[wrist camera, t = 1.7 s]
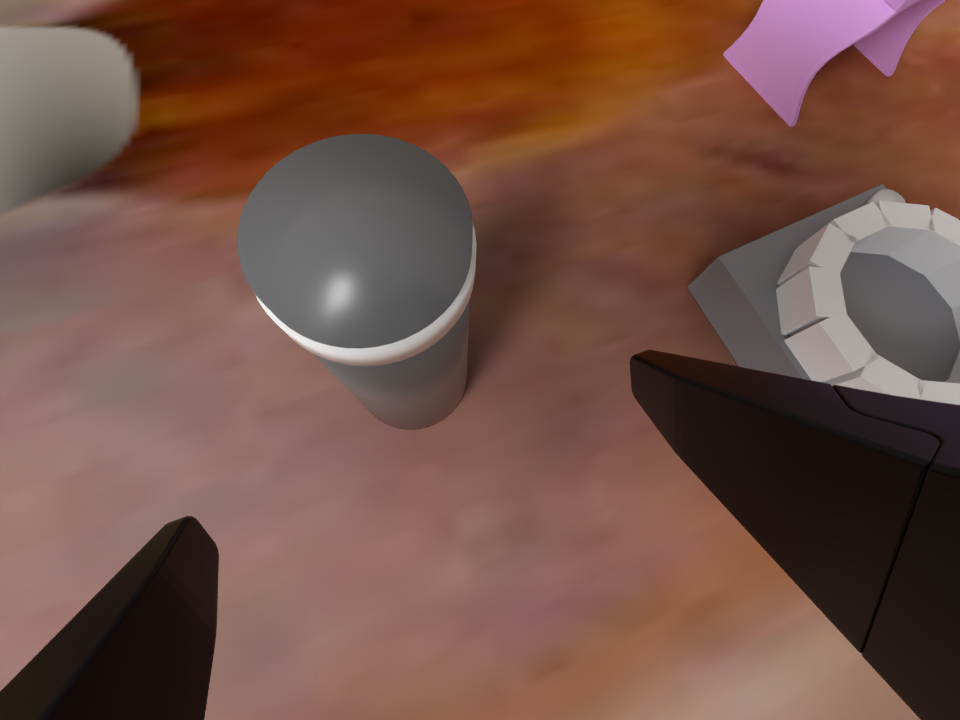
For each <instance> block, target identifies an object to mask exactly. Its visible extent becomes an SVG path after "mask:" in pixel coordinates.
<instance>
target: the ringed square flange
mask: <svg viewBox="0 0 960 720" xmlns="http://www.w3.org/2000/svg"><path fill="white" fill-rule="evenodd" d="M687 288H688V289H689V291H690V293H691V294H692V296H693V297H694V299H695V300H696V302H697V303H698V305H699V306H700V308H701V309H702V311H703V312H704V314H705V315H706V317H707V318H708V320H709V322H710V323H711V325H712V326H713V328H714V329H715V331H716V332H717V334H718V335H719V337H720V338H721V340H722V341H723V343H724V344H725V346H726V348H727V349H728V351H729V352H730V354H731V355H732V357H733V358H734V360H735V361H736V363H737V364H738V366H739V367H744V368H749V369H754V370H760V371H765V372H770V373H775V374H781V375H786V376H791V377H797V378H802V379H807V380H813V381H818V382H823V383H828V384H831V386H833V385H839V386H845V387H850V388H855V389H860V390H866V391H872V392H878V393H883V394H889V395H895V396H901V397H908V398H915V399H922V400H928V401H935V402H942V403H949V404H956V405H960V220H958V219H956V218H955V217H953V216H951V215H949V214H947V213H945V212H943V211H941V210H939V209H938V208H934V209H932V210H931V211H930V208H929V205H919V204H908V203H906V202H905V200H904V198H903V197H902V196H901V195H900V194H899V193H897V192H895V191H893V190H889V189H887V188H886V187H885V186H884V184H881V185H879V186H877V187H875V188H872V189H870V190H868V191H866V192H863V193H861V194H859V195H856V196H854V197H852V198H850V199H847V200H845V201H843V202H841V203H838V204H836V205H834V206H832V207H829V208H827V209H825V210H823V211H820V212H818V213H816V214H814V215H811V216H809V217H807V218H805V219H802V220H800V221H798V222H796V223H793V224H791V225H789V226H787V227H784V228H782V229H780V230H777V231H775V232H773V233H771V234H768V235H766V236H764V237H762V238H759V239H757V240H755V241H753V242H750V243H748V244H746V245H744V246H741V247H739V248H737V249H735V250H732V251H730V252H728V253H726V254H723V255H721V256H719V257H718V258H717V259H716V260H714V261H713V262H712V263H711V264H710V265H709V266H708V267H707V268H706V269H705V270H704V271H703V272H702V273H701V274H700V275H699V276H698V277H697V278H696V279H695V280H694V281H693V282H692V283H691V284H690V285H689V286H687Z"/></svg>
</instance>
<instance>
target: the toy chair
mask: <svg viewBox="0 0 960 720" xmlns="http://www.w3.org/2000/svg"><path fill="white" fill-rule="evenodd" d="M944 1H945V0H763V2H762V4H761V6H760V8H759V10H758V12H757V14H756V16H755V17H754V19H753V20H752V22H751V23H750V25H749V26H748V28H747V29H746V30H745V31H744V33H743V34H742V35H741V36H740V37H739V38H738V39H737V40H736V41H735V42H734V43H733V44H732V45H731V46H730V47H729V48H728V49H727V50H726V51H725V52H724V53H723V56H724V57H725V58H726V59H727V60H728V62H729V63H730V64H731V65H732V66H733V67H734V68H735V69H736V70H737V71H738V72H739V73H740V74H741V75H742V76H743V78H744V79H745V80H746V81H747V82H748V83H749V84H750V85H751V86H752V87H753V88H754V89H755V90H756V91H757V92H758V94H759V95H760V96H761V97H762V98H763V99H764V100H765V101H766V102H767V103H768V104H769V105H770V106H771V107H772V108H773V110H774V111H775V112H776V113H777V114H778V115H779V116H780V117H781V118H782V119H783V120H784V121H785V122H786V123H787V124H788V125H789V126H790V127H793V126H795V125H796V123H797V120H798V116H799V112H800V108H801V105H802V102H803V98H804V96H805V93H806V91H807V89H808V86H809V84H810V83H811V81H812V79H813V78H814V76H815V75H816V73H817V72H818V71H819V70H820V69H821V68H822V67H823V66H824V65H825V64H826V63H827V62H828V61H829V60H830V59H832V58H833V57H834V56H836V55H837V54H838V53H840V52H841V51H843V50H845V49H846V48H848V47H849V46H851V45H854V46H855V47H856V48H857V49H858V50H859V51H860V52H861V53H862V54H863V55H864V56H865V57H866V58H867V59H868V60H869V61H870V62H871V63H872V64H873V65H874V66H876V67H877V68H878V69H879V70H880V71H881V72H882V73H883V74H884V75H885V76H887V77H890V76H892V75H893V73H894V71H895V69H896V67H897V64H898V62H899V59H900V57H901V55H902V52H903V50H904V48H905V46H906V44H907V42H908V40H909V39H910V37H911V35H912V33H913V32H914V30H915V29H916V28H917V26H918V25H919V24H920V22H921V21H922V20H923V19H924V18H925V17H926V16H927V15H928V14H929V13H930V12H931V11H932V10H933V9H934V8H936V7H937V6H938V5H940V4H941V3H942V2H944Z"/></svg>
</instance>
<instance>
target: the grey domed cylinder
mask: <svg viewBox="0 0 960 720" xmlns="http://www.w3.org/2000/svg"><path fill="white" fill-rule="evenodd" d="M237 246H238V255H239V260H240V264H241V267H242V271H243V273H244V275H245V278H246V280H247V282H248V284H249V285H250V287H251V288H252V290H253V292H254V293H255V295H256V297H257V299H258V301H259V302H260V304H261V306H262V307H263V309H264V310H265V312H266V313H267V314H268V315H269V316H270V317H271V318H272V319H273V321H274V322H275V323H276V324H277V325H278V326H279V327H280V328H281V329H282V330H284V331H285V332H286V333H287V334H288V335H289V336H290V337H291V338H292V339H293V340H294V341H295V342H297V343H298V344H299V345H300V346H301V347H303V348H305V349H306V350H308V351H309V352H311V353H313V354H314V355H315V356H316V357H317V358H318V359H319V360H320V361H321V362H322V363H323V364H324V365H325V366H326V367H327V368H328V369H329V370H330V372H331V373H332V374H333V375H334V376H335V377H336V378H337V379H338V380H339V381H340V382H341V383H342V384H343V385H344V386H345V387H346V388H347V389H348V390H349V391H350V392H351V393H352V394H353V395H354V396H355V397H356V398H357V399H358V400H359V401H360V402H361V403H362V404H363V405H364V406H365V407H366V408H367V409H368V410H369V411H370V412H371V413H372V414H373V415H374V416H375V417H377V418H378V419H379V420H380V421H382V422H384V423H385V424H388V425H390V426H392V427H396V428H400V429H406V430H415V429H422V428H426V427H429V426H432V425H435V424H437V423H438V422H440V421H442V420H443V419H445V418H446V417H447V416H448V415H450V414H451V413H452V412H453V410H454V409H455V408H456V407H457V405H458V404H459V402H460V401H461V399H462V396H463V394H464V391H465V388H466V382H467V363H468V339H469V314H470V296H471V293H472V290H473V285H474V279H475V268H476V235H475V229H474V225H473V222H472V215H471V210H470V207H469V203H468V200H467V198H466V195H465V193H464V191H463V189H462V187H461V186H460V184H459V182H458V181H457V179H456V178H455V177H454V175H453V174H452V173H451V172H450V171H449V169H448V168H447V167H446V166H445V165H443V164H442V163H441V162H440V161H439V160H438V159H437V158H435V157H434V156H432V155H431V154H429V153H428V152H427V151H425V150H423V149H421V148H419V147H417V146H415V145H413V144H410V143H408V142H405V141H402V140H399V139H395V138H391V137H387V136H381V135H373V134H352V135H342V136H336V137H331V138H327V139H324V140H320V141H317V142H314V143H312V144H309V145H307V146H304V147H302V148H300V149H298V150H297V151H295V152H293V153H291V154H289V155H288V156H287V157H285V158H284V159H282V160H281V161H279V162H278V163H277V164H276V165H275V166H273V167H272V168H271V169H270V170H269V171H268V172H267V173H266V174H265V175H264V176H263V177H262V179H261V180H260V181H259V182H258V184H257V185H256V186H255V188H254V189H253V191H252V192H251V194H250V196H249V198H248V200H247V202H246V204H245V206H244V209H243V212H242V214H241V217H240V222H239V227H238V239H237Z"/></svg>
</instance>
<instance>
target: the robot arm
mask: <svg viewBox="0 0 960 720" xmlns="http://www.w3.org/2000/svg"><path fill="white" fill-rule="evenodd" d="M630 374H631V387H632V392H633V395H634V397H635V399H636V400H637V401H638V403H639V404H640V406H641V407H642V408H643V410H644V411H645V412H646V414H647V415H648V416H649V418H650V419H651V421H652V422H653V423H654V425H655V426H656V427H657V429H658V430H659V431H660V433H661V434H662V436H663V437H664V438H665V440H666V441H667V442H668V444H669V445H670V446H671V448H672V449H673V450H674V451H675V453H676V454H677V455H678V456H679V457H680V458H681V459H682V461H683V462H684V463H685V464H686V465H687V466H688V467H689V468H690V469H691V470H692V471H693V472H694V474H695V475H696V476H697V477H698V478H699V479H700V480H701V481H702V482H703V483H704V484H705V485H706V487H707V488H708V489H709V490H710V491H711V492H712V493H713V494H714V495H715V496H716V497H717V499H718V500H719V501H720V502H721V503H722V504H723V505H724V506H725V507H726V508H727V509H728V510H729V512H730V513H731V514H732V515H733V516H734V517H735V518H736V519H737V520H738V521H739V522H740V523H741V525H742V526H743V527H744V528H745V529H746V530H747V531H748V532H749V533H750V534H751V535H752V536H753V538H754V539H755V540H756V541H757V542H758V543H759V544H760V545H761V546H762V547H763V548H764V550H765V551H766V552H767V553H768V554H769V555H770V556H771V557H772V558H773V559H774V560H775V561H776V563H777V564H778V565H779V566H780V567H781V568H782V569H783V570H784V571H785V572H786V573H787V574H788V576H789V577H790V578H791V579H792V580H793V581H794V582H795V583H796V584H797V585H798V586H799V588H800V589H801V590H802V591H803V592H804V593H805V594H806V595H807V596H808V597H809V598H810V599H811V601H812V602H813V603H814V604H815V605H816V606H817V607H818V608H819V609H820V610H821V611H822V612H823V614H824V615H825V616H826V617H827V618H828V619H829V620H830V621H831V622H832V623H833V624H834V626H835V627H836V628H837V629H838V630H839V631H840V632H841V633H842V634H843V635H844V636H845V637H846V639H847V640H848V641H849V642H850V643H851V644H852V645H853V646H854V647H855V648H856V649H857V650H858V651H859V652H860V653H862V656H863V657H864V659H865V660H866V661H867V662H868V663H869V664H870V665H871V666H872V667H873V668H874V669H875V671H876V672H877V673H878V674H879V675H880V676H881V677H882V678H883V679H884V680H885V681H886V682H887V684H888V685H889V686H890V687H891V688H892V689H893V690H894V691H895V692H896V693H897V694H898V695H899V697H900V698H901V699H902V700H903V701H904V702H905V703H906V704H907V705H908V706H909V707H910V708H911V710H912V711H913V712H914V713H915V714H916V715H917V716H918V717H919V718H920V719H921V720H960V405H956V404H949V403H942V402H935V401H928V400H922V399H915V398H908V397H901V396H895V395H889V394H883V393H878V392H872V391H866V390H860V389H855V388H850V387H845V386H839V385H833V386H831V384H828V383H823V382H818V381H813V380H807V379H802V378H797V377H791V376H786V375H781V374H775V373H770V372H765V371H760V370H754V369H749V368H744V367H738V366H733V365H728V364H723V363H717V362H712V361H707V360H701V359H696V358H691V357H686V356H680V355H675V354H670V353H664V352H659V351H654V350H646V351H643V352H641V353H638V354H635V355H633V356H632V357H631V359H630ZM218 566H219V553H218V549H217V546H216V544H215V542H214V541H213V540H212V538H211V537H210V536H209V534H208V533H207V532H206V530H205V529H204V528H203V527H202V525H201V524H200V523H199V521H198V520H197V519H196V518H194V517H192V516H186V517H183V518H180V519H178V520H175V521H172V522H169V523H168V524H166V525H165V526H164V527H163V528H162V529H161V530H160V531H159V532H158V533H157V534H156V535H155V536H154V537H153V538H152V539H151V540H150V541H149V542H148V543H147V544H146V545H145V546H144V547H143V548H142V549H141V550H140V551H139V552H138V553H137V554H136V555H135V556H134V557H133V558H132V559H131V560H130V561H129V562H128V563H127V564H126V565H125V566H124V567H123V568H122V569H121V570H120V571H119V572H118V573H117V574H116V575H115V576H114V577H113V578H112V579H111V580H110V581H109V582H108V583H107V584H106V585H105V586H104V587H103V588H102V589H101V590H100V591H99V592H98V593H97V594H96V595H95V596H94V597H93V598H92V599H91V600H90V601H89V602H88V603H87V604H86V605H85V606H84V607H83V608H82V609H81V610H80V611H79V612H78V613H77V614H76V615H75V617H74V618H73V619H72V620H71V621H70V622H69V623H68V624H67V625H66V626H65V627H64V628H63V629H62V630H61V631H60V632H59V633H58V634H57V635H56V636H55V637H54V638H53V639H52V640H51V641H50V642H49V643H48V644H47V645H46V646H45V647H44V648H43V649H42V650H41V651H40V652H39V653H38V654H37V655H36V656H35V657H34V658H33V659H32V660H31V661H30V662H29V663H28V664H27V665H26V666H25V667H24V668H23V669H22V670H21V671H20V672H19V673H18V674H17V675H16V676H15V677H14V678H13V679H12V680H11V681H10V682H9V683H8V684H7V685H6V686H5V687H4V688H3V689H2V690H1V691H0V720H204V718H205V711H206V704H207V697H208V690H209V683H210V676H211V669H212V662H213V655H214V648H215V639H216V628H217V600H218Z"/></svg>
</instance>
